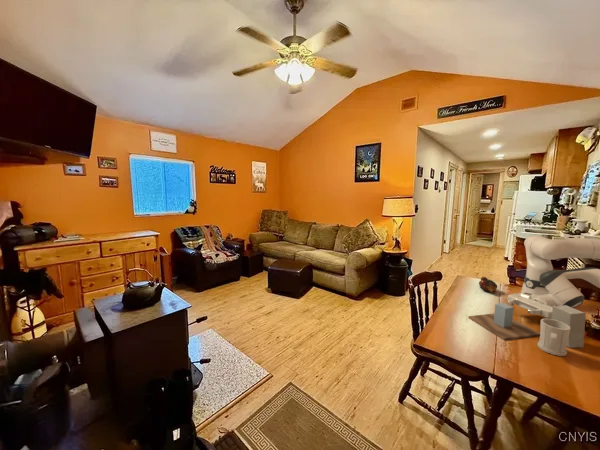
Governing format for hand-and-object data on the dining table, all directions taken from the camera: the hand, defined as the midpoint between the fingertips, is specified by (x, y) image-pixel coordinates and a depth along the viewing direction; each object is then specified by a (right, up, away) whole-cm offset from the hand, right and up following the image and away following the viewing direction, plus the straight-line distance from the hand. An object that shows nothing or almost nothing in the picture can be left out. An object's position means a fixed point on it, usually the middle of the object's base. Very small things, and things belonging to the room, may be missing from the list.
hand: (519, 307), depth 126 cm
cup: (-4, -12, -20) cm, 24 cm away
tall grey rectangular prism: (-10, -8, -1) cm, 13 cm away
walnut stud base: (-10, -9, -1) cm, 13 cm away
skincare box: (+8, -11, -14) cm, 20 cm away
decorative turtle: (+14, -3, +41) cm, 43 cm away
